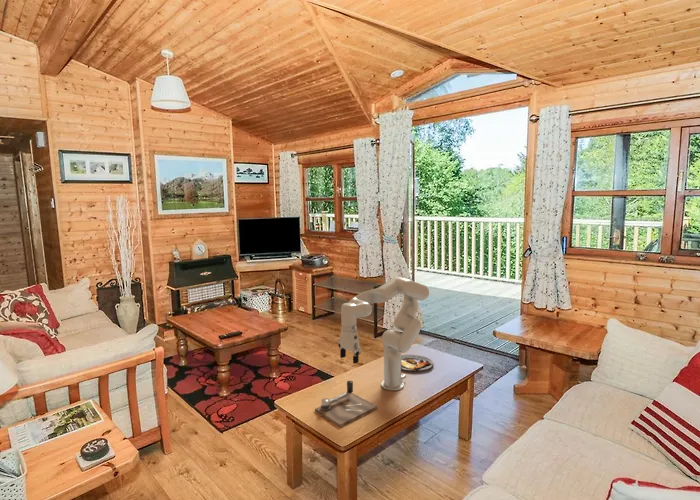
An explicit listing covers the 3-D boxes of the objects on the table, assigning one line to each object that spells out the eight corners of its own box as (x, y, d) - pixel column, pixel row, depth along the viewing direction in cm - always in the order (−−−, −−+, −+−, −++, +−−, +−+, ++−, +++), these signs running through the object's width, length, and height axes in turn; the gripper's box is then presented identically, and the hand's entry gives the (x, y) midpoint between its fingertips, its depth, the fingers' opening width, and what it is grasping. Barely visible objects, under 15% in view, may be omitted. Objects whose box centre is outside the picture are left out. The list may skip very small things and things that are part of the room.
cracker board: (351, 395, 214) (351, 390, 214) (377, 408, 200) (377, 404, 200) (315, 411, 198) (314, 406, 198) (340, 427, 184) (340, 422, 184)
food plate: (441, 367, 247) (441, 362, 246) (410, 377, 235) (410, 371, 235) (415, 355, 268) (415, 350, 268) (386, 363, 257) (386, 357, 257)
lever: (349, 392, 211) (349, 379, 210) (354, 395, 208) (354, 382, 207) (319, 406, 198) (319, 392, 197) (325, 409, 195) (324, 395, 194)
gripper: (366, 329, 200) (366, 363, 202) (343, 322, 213) (343, 353, 215) (355, 333, 195) (355, 367, 197) (332, 325, 208) (332, 357, 210)
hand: (349, 360), depth 206 cm, fingers open, 9 cm apart
